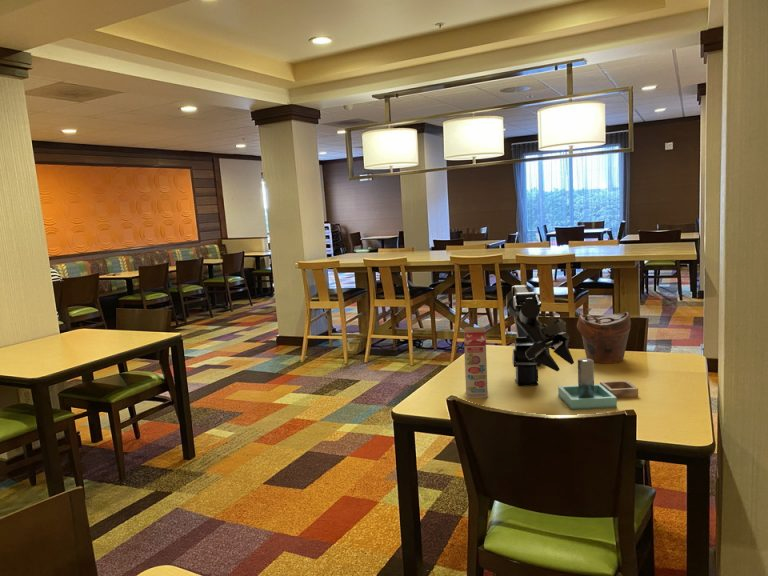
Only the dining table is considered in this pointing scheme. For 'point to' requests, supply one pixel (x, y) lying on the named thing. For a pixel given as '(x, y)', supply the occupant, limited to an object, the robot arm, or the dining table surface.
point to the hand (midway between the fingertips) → (565, 367)
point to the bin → (599, 401)
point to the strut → (585, 378)
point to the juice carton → (475, 362)
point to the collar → (621, 388)
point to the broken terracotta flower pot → (605, 336)
